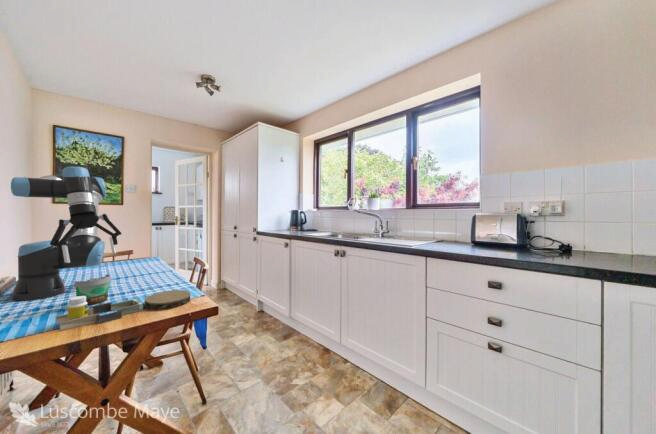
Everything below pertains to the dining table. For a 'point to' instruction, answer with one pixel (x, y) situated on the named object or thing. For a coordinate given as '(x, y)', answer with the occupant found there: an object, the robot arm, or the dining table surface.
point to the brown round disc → (167, 300)
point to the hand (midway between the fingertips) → (91, 257)
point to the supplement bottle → (77, 307)
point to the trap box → (94, 315)
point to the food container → (93, 289)
